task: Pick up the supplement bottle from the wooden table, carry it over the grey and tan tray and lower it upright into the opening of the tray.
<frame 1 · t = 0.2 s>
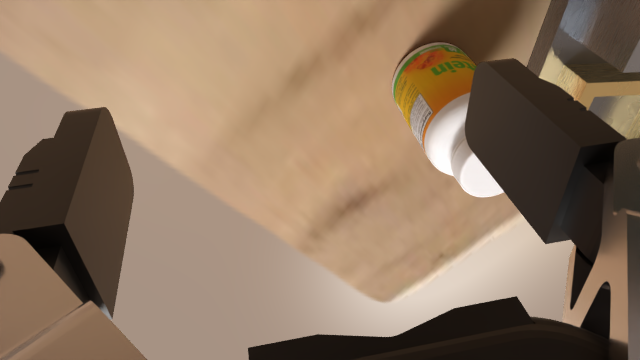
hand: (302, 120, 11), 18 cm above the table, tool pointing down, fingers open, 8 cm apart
grey and tan tray: (599, 72, 34), on the table
supplement bottle: (427, 77, 32), on the table
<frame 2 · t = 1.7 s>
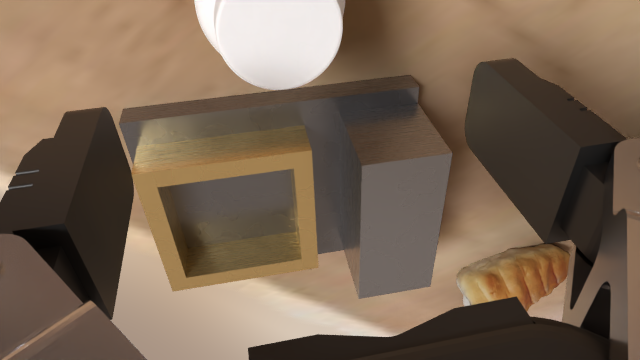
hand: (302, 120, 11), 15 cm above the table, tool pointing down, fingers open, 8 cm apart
grey and tan tray: (281, 176, 30), on the table
pastry: (498, 268, 41), on the table
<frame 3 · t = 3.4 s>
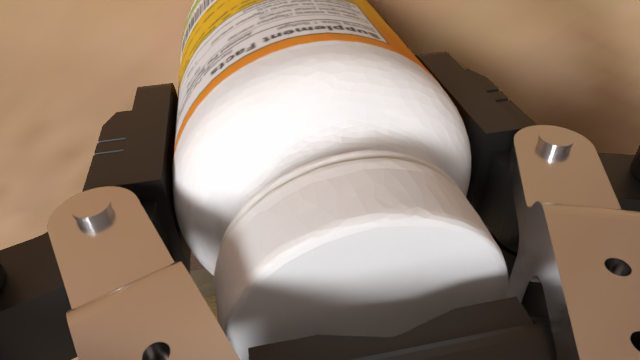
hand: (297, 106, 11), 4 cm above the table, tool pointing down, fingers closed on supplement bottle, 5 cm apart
grey and tan tray: (304, 319, 22), on the table
supplement bottle: (278, 45, 14), on the table, touching gripper
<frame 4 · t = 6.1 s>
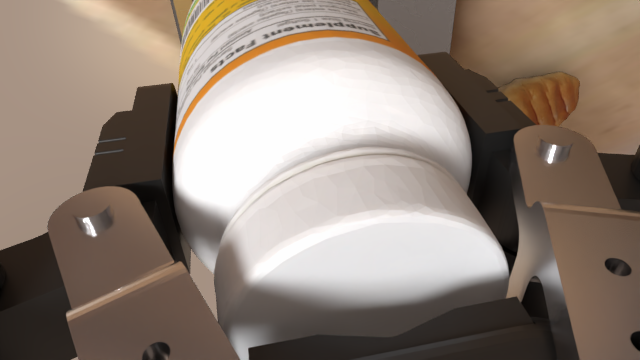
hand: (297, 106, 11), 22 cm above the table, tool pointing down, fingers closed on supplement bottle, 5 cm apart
pastry: (505, 107, 41), on the table
supplement bottle: (278, 43, 14), point 18 cm above the table, touching gripper
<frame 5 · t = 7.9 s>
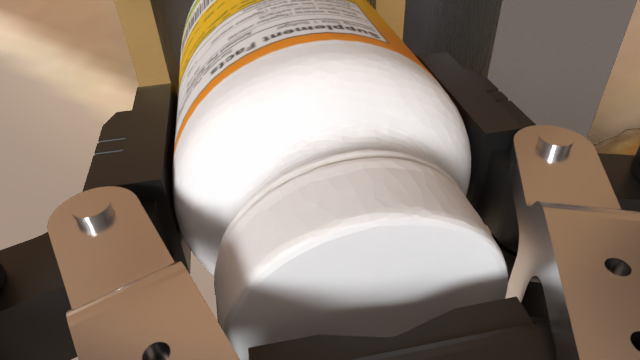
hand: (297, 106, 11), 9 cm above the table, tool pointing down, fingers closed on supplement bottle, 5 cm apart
pastry: (603, 166, 29), on the table
supplement bottle: (278, 44, 14), point 6 cm above the table, touching gripper
when the fingers open (6 cm above the table, at t = 9.1 s): supplement bottle stays where it is, resting on grey and tan tray.
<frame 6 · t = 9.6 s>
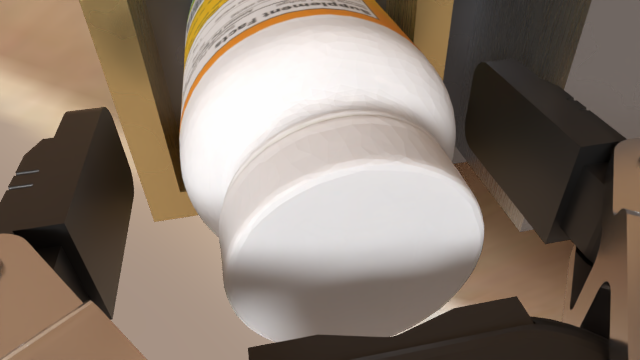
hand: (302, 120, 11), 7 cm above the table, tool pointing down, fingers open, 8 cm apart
grey and tan tray: (357, 10, 16), on the table
supplement bottle: (277, 30, 15), point 1 cm above the table, touching grey and tan tray
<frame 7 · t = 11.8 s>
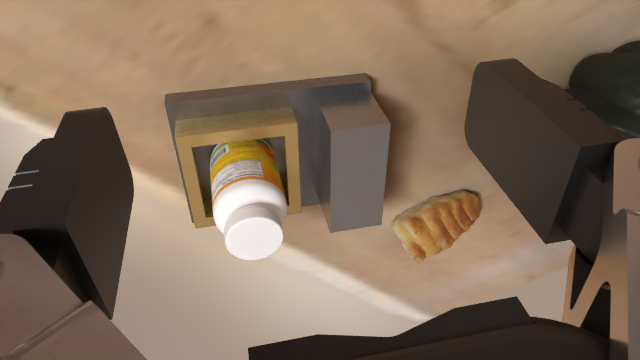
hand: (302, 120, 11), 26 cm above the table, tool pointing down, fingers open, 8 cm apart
squash: (591, 96, 46), on the table
grey and tan tray: (274, 146, 42), on the table
pastry: (427, 215, 52), on the table
supplement bottle: (242, 158, 40), point 1 cm above the table, touching grey and tan tray
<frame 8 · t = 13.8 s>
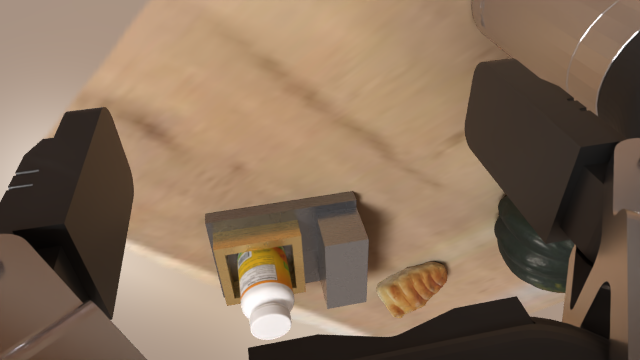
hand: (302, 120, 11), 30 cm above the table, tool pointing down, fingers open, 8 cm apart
squash: (534, 193, 59), on the table
grey and tan tray: (285, 241, 55), on the table
pastry: (405, 279, 64), on the table
supplement bottle: (261, 253, 54), point 1 cm above the table, touching grey and tan tray
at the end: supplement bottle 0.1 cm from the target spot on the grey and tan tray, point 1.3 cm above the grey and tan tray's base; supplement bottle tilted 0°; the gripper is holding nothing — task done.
